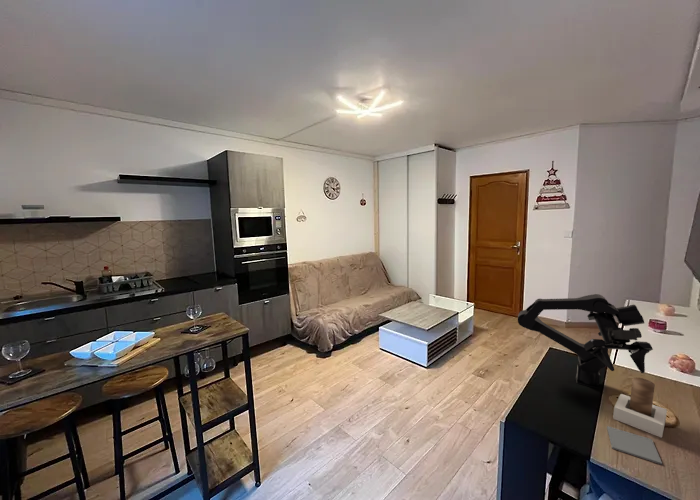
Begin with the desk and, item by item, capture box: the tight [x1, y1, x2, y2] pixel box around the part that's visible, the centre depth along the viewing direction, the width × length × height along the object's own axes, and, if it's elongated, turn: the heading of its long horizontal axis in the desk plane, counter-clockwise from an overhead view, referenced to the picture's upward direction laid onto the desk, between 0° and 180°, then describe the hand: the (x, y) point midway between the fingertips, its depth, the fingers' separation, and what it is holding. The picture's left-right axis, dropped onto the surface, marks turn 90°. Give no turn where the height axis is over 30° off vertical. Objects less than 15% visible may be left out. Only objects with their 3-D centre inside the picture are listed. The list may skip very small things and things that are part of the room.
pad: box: [606, 425, 663, 466], centre depth 86 cm, size 10×10×1 cm
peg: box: [629, 377, 655, 417], centre depth 95 cm, size 5×5×13 cm
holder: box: [612, 393, 668, 439], centre depth 96 cm, size 11×11×4 cm
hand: (628, 371), depth 101 cm, fingers open, 9 cm apart
